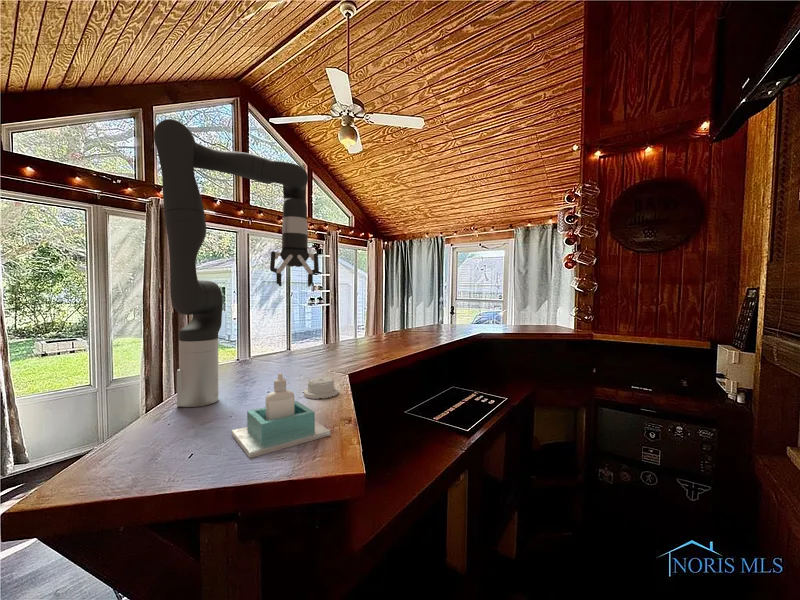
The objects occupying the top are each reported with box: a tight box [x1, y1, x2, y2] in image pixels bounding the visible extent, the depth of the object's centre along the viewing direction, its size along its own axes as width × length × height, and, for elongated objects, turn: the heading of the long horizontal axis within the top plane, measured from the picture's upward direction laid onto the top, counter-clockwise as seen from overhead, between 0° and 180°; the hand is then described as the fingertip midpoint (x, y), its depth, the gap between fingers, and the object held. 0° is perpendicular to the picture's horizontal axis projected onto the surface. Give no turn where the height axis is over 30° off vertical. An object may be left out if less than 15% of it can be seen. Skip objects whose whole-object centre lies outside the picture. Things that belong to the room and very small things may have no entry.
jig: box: [231, 400, 331, 459], centre depth 72 cm, size 16×13×5 cm
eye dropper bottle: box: [265, 372, 296, 421], centre depth 71 cm, size 4×6×12 cm
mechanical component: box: [303, 377, 339, 400], centre depth 101 cm, size 10×4×10 cm
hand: (294, 286), depth 105 cm, fingers open, 8 cm apart
